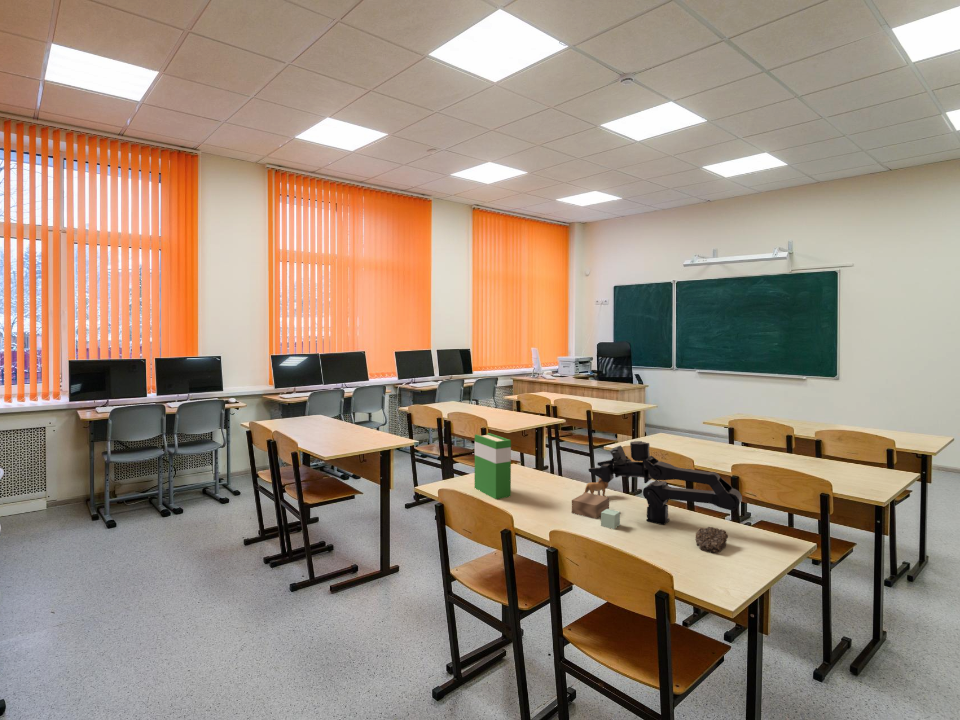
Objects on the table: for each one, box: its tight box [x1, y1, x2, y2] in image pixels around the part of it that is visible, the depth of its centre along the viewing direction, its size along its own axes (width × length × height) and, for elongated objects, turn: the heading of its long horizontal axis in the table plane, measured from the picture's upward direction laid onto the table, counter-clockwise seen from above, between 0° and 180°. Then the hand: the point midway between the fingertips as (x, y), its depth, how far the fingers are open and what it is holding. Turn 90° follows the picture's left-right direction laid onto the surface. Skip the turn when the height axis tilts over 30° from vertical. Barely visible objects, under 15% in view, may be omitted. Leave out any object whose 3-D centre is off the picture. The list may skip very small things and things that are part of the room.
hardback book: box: [474, 432, 512, 500], centre depth 224 cm, size 18×7×24 cm, turn 30°
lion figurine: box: [583, 477, 609, 497], centre depth 218 cm, size 15×5×9 cm, turn 130°
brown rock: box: [694, 526, 728, 554], centre depth 169 cm, size 12×10×5 cm
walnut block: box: [571, 492, 610, 520], centre depth 201 cm, size 10×12×5 cm
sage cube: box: [600, 508, 621, 530], centre depth 187 cm, size 5×5×5 cm
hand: (593, 466), depth 205 cm, fingers open, 9 cm apart
